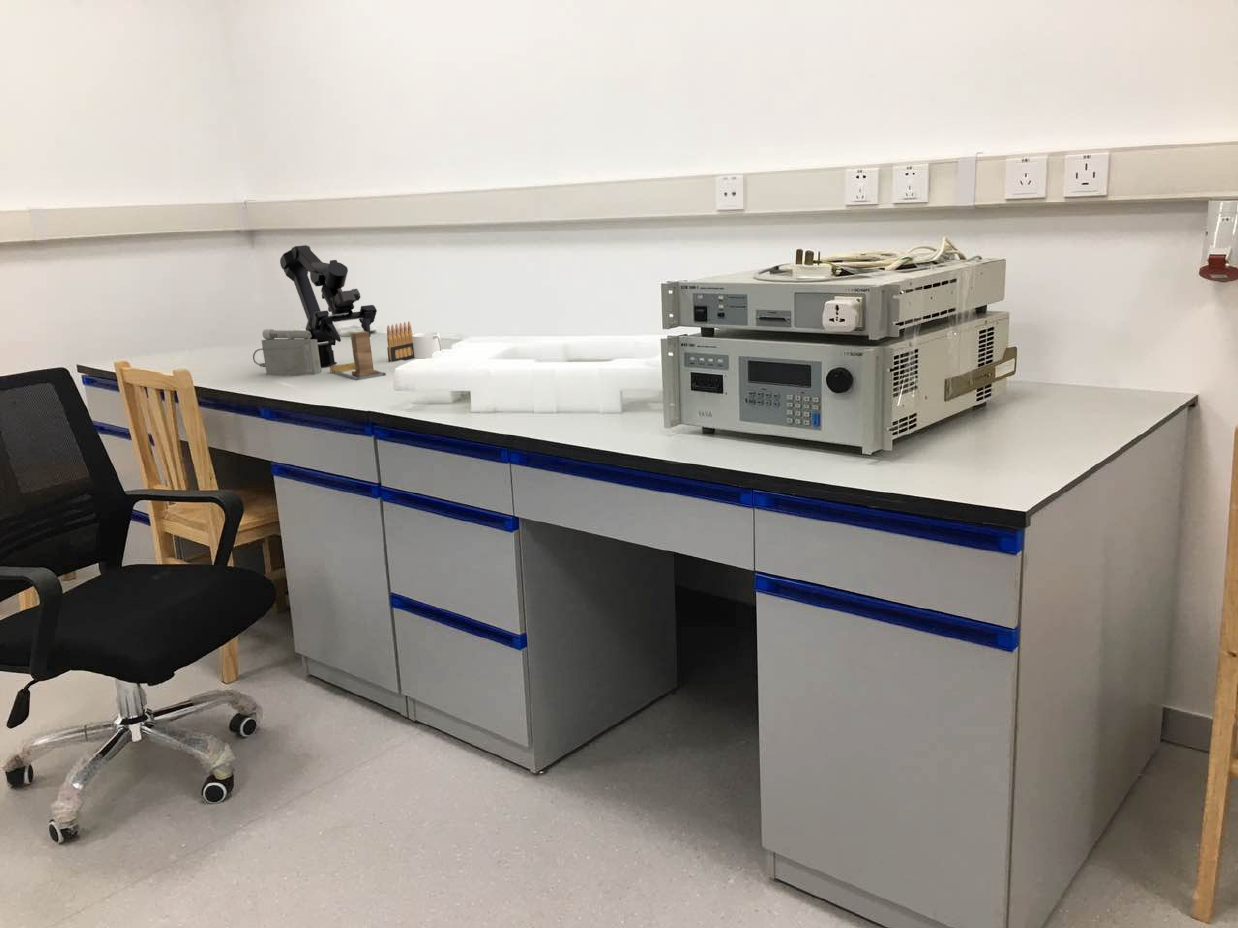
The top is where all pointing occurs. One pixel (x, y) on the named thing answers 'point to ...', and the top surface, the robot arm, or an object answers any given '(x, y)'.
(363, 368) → the plate
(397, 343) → the ammunition clip
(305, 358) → the geiger counter
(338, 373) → the track
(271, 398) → the top surface
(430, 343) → the cup
